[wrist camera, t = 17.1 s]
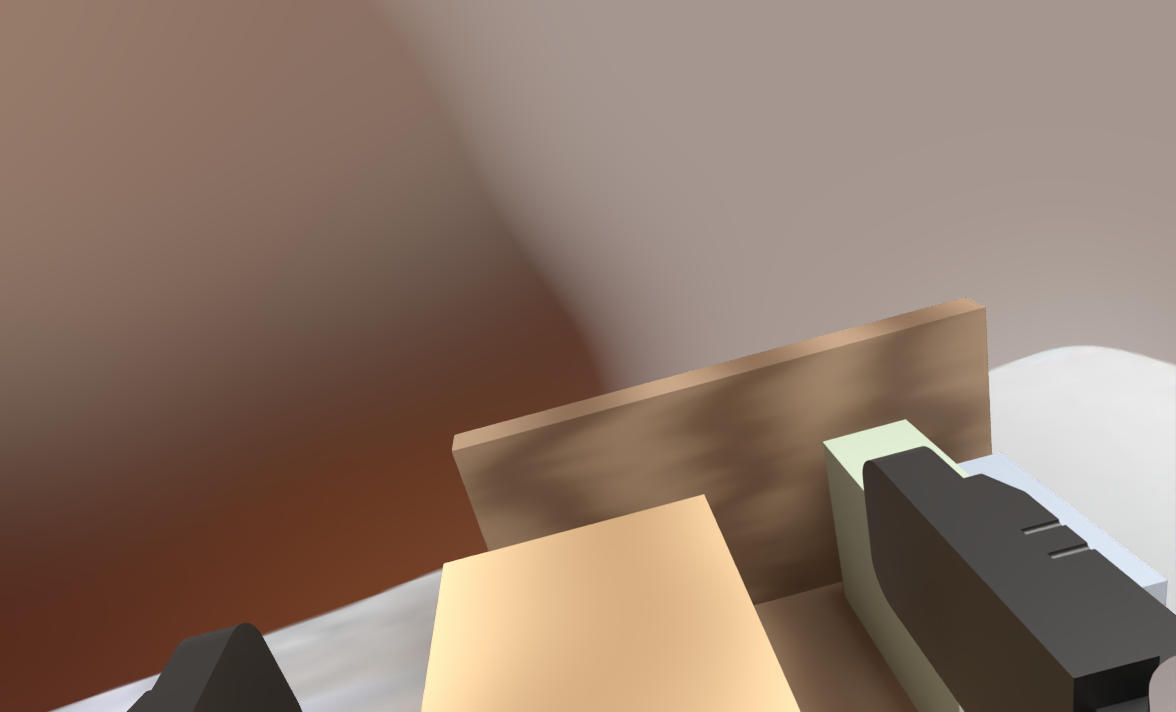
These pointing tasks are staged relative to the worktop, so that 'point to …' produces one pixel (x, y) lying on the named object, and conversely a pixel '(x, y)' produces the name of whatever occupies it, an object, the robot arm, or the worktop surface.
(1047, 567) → the robot arm
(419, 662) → the worktop surface
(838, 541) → the offcut
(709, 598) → the light brown wooden block
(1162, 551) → the worktop surface
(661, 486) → the rack
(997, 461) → the offcut
